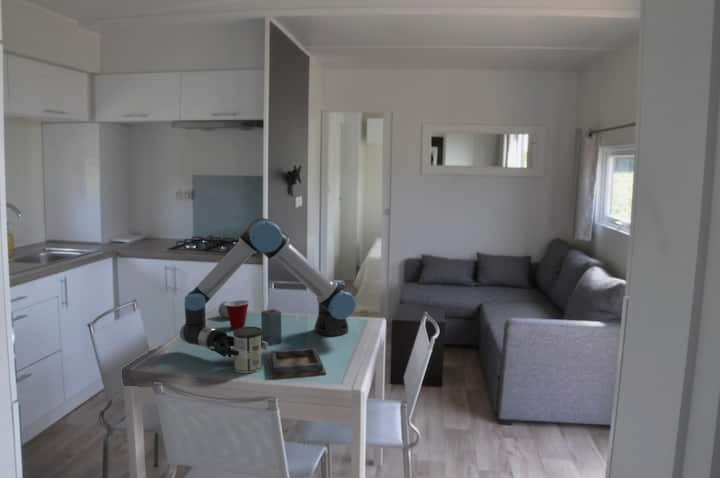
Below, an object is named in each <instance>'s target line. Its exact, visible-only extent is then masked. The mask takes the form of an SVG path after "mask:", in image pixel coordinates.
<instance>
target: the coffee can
mask: <svg viewBox="0 0 720 478" xmlns="http://www.w3.org/2000/svg"><path fill="white" fill-rule="evenodd" d="M232 334H233V337H234V346H233V347H235V348H238V349H242V350H246V351H247V359H244V358H241V357H237V356H233V358H234V371H235V372H237V373H240V374H253V373H257V372H259V371H261V370H262V369H263V367H264V365H263V364H264V363H263V362H264V359H263V356H264V355H263V349H262V341H263V329H262V328H261V327H259V326H244V327H241V328H238V329H235V330H234V329H233V332H232Z"/></svg>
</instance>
